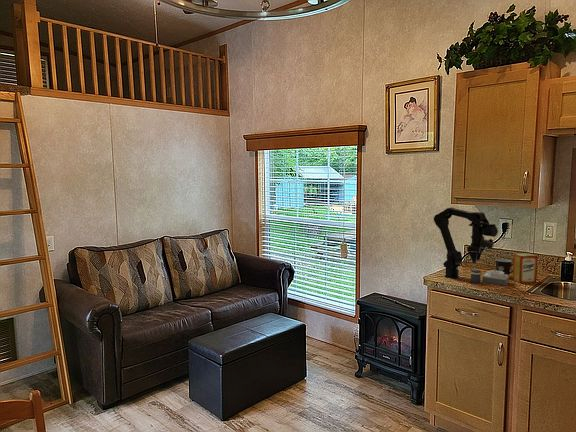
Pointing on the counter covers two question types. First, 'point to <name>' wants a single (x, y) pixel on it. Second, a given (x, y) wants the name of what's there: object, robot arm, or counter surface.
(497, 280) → the octagonal ring tray
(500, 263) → the coffee mug
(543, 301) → the counter surface
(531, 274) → the baking soda box
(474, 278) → the lens
